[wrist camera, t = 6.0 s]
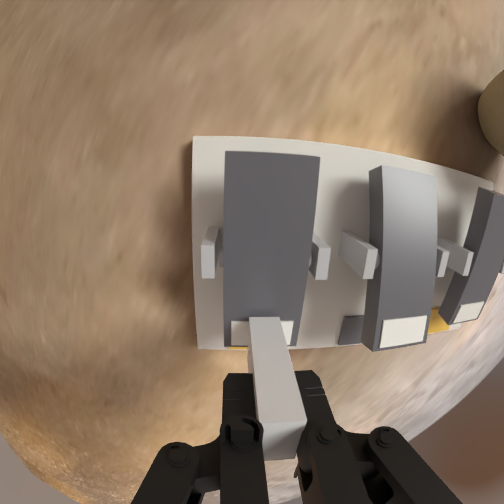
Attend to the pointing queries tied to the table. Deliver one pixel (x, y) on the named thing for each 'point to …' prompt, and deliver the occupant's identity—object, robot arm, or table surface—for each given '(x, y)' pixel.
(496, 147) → the flower pot
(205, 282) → the switch unit
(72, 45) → the table surface
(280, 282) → the rocker
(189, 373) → the table surface
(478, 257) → the rocker
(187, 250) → the table surface
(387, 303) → the rocker
